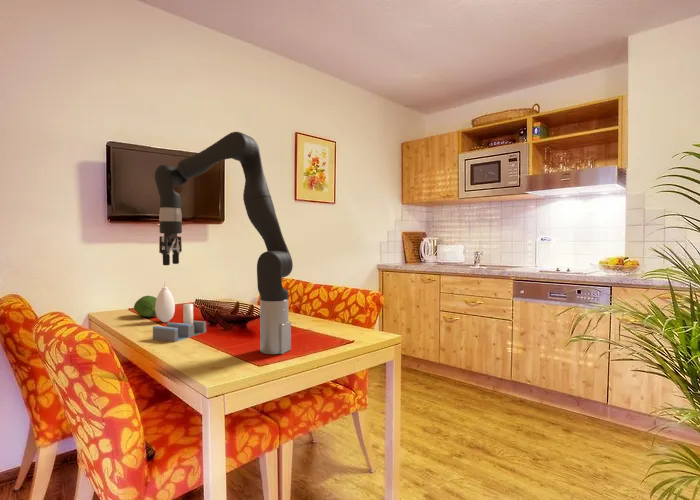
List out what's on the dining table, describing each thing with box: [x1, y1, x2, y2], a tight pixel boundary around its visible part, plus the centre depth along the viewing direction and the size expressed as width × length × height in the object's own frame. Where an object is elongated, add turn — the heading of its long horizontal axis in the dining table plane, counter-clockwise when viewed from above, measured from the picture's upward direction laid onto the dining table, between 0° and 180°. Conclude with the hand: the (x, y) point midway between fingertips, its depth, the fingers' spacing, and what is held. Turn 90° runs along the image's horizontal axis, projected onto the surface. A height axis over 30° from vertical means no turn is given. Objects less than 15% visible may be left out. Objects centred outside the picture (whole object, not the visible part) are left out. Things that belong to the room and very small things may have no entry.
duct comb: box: [152, 319, 207, 343], centre depth 148 cm, size 10×16×6 cm, turn 160°
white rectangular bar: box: [182, 303, 194, 325], centre depth 152 cm, size 4×4×11 cm
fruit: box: [133, 295, 157, 318], centre depth 187 cm, size 15×10×10 cm, turn 54°
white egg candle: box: [155, 281, 176, 323], centre depth 176 cm, size 8×8×18 cm
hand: (171, 264), depth 147 cm, fingers open, 8 cm apart
